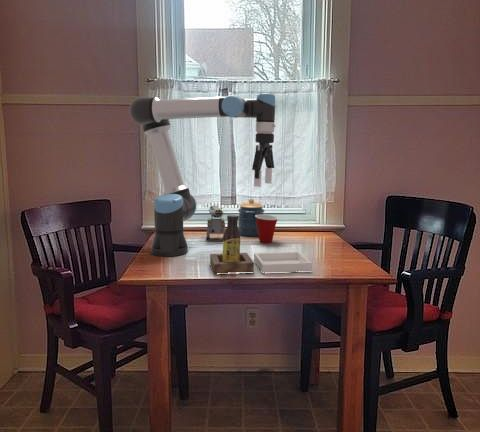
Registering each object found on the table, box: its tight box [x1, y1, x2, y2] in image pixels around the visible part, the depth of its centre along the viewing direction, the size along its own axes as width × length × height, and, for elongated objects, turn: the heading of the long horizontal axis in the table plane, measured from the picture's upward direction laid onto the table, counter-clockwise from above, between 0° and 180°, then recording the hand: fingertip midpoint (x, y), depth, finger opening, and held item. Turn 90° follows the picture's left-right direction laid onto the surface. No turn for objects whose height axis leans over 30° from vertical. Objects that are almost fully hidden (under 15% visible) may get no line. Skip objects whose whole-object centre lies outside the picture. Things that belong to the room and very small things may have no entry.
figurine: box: [205, 205, 227, 241], centre depth 213 cm, size 9×12×15 cm
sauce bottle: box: [222, 214, 241, 262], centre depth 165 cm, size 6×6×20 cm
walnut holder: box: [209, 252, 255, 275], centre depth 167 cm, size 14×14×4 cm
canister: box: [237, 198, 265, 237], centre depth 224 cm, size 13×13×18 cm
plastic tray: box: [253, 251, 313, 273], centre depth 170 cm, size 18×16×4 cm
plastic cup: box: [255, 214, 279, 244], centre depth 208 cm, size 11×11×12 cm
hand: (262, 185), depth 190 cm, fingers open, 13 cm apart
